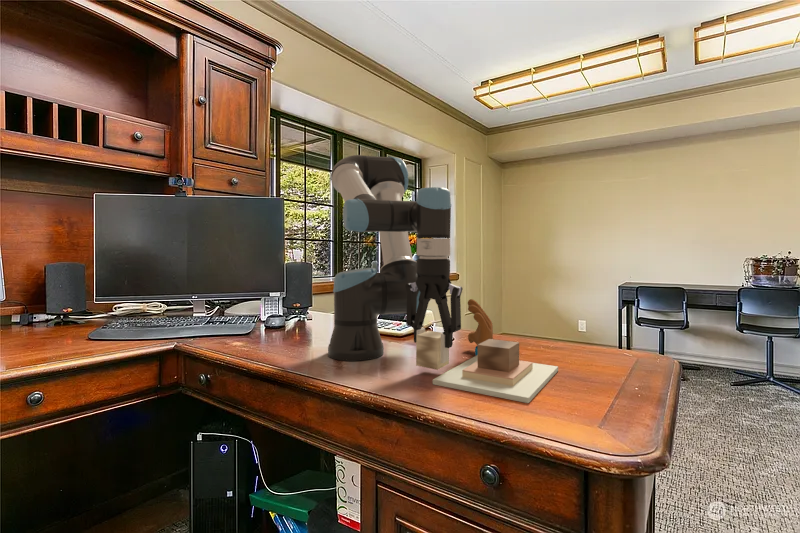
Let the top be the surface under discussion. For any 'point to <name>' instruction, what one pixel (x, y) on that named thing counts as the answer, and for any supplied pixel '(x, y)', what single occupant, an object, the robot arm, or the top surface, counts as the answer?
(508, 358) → the walnut block
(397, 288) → the robot arm
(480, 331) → the toy
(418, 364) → the maple block
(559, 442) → the top surface
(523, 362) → the board
